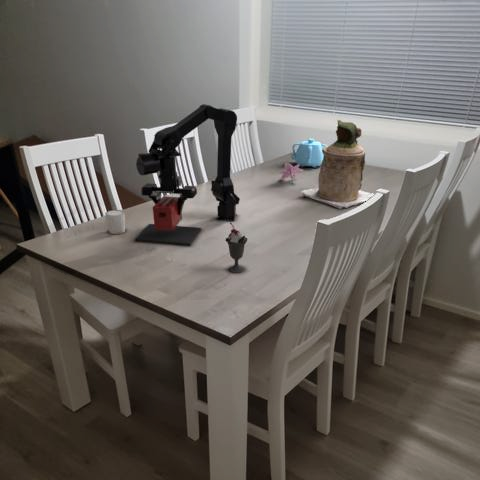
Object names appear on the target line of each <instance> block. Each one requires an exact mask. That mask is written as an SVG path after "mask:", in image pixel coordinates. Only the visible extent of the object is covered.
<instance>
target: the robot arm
mask: <svg viewBox="0 0 480 480" xmlns="http://www.w3.org/2000/svg"><path fill="white" fill-rule="evenodd" d="M208 120H212V121H213V126H214V127H213V128H214V130H215V132H216V135H217V160H216V161H217V162H216V163H217V165H216V167H217V168H216V177H215V179H212V180H211V182H210V184H211V188H210V191H211V193H212V196H214V198H215V200H216V202H218V205H217V208H216V209H217V217H218V218H217V220H219V221H235V220H236V218H237V217H238V216H237V215H238V214H237V205H239V204H240V200H241V198H240V197H239V196H238V195H237V194H236V193H235V187H234V183H233V180H232V178H231V163H232V162H231V161H232V138H233V137H232V136H233V134H234V133H235V132H236V129H237V123H238V115H237V114H236V112H235V111H234V110H231V109H227V108H222V107H221V108H216V107H214V106H212V105H210V104H205V103H203V104H201V105H199V106H198V108H196V109H195V110H194V111H192V112H191V113H189V114H188V115H187V116H185V117H183V119H181V120H180V121H178V122H177V123H175V124H174V125H171V126H167V127H164V128H163V129H160V130H158V131H156V132H155V134H154V137H153V141H152V142H151V145H150V147H149V149H148V152H144V153H143V152H141V153H138V156H137V158H136V163H135V167H136V170H137V172H138V175H139V176H146V175H153V174H157V173H159V174H158V179H159V182H160V186H158V185H157V183H150V182H149V183H145V185H143V186H142V187H141V189H140V191H141V196H143V197H144V196H145V197H148V198H149V199H151V201H152V202H153V203H154V205H155V204H156V203H157V202H158V201H159V200H160V199H161V198H162V194H172V195H174V194H175V195H179V196H178V197H179V198H178V212H179V215H181V212H182V213H183V209H184V205H185V202H186V201H187V200H188V199H194V198H195V197H196V196H197V194H198V189H197V186H195V185H185V186H183V187H181V186H182V176H180V175H179V174H178V171H177V164H176V157H180V156H182V153H181V152H179V151H178V150H177V147H179V146H180V145H181V143H182V141H183V139H184V138H185V136H187V135H188V134H190V133H191V132H192V131H194V130H195V129H197V128H198V127H199V126H201V125H202V124H203V123H204V122H206V121H208ZM180 187H181V188H180Z"/></svg>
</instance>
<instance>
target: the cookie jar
mask: <svg viewBox="0 0 480 480" xmlns="http://www.w3.org/2000/svg"><path fill="white" fill-rule="evenodd" d="M335 134H336V138H337V139H336V141H333V143H331V144H330V145H327V146H326V147H325V146H323V147H322V148H323V149H322V153H323V160H322V164H321V165H320V169H319V173H318V177H317V179H318V180H317V181H318V182H317V183H318V187H315V188H310V189H303V190H301V191H300V193H301V194H302V198H303V197H307V198H310V199H313V200H315V201H318V202H321V203H324V204H327V205H330V206H333V207H335V208H336V209H339V210H342V208H349V207H352V206H357V205H359V204H362V203H365V201H366V202H368V201H367V200H368V199H369V198H370V197H372V196H373V195H374V194H375V193H373V192H368V191H364V190H361V188H362V181H363V178H364V177H363V171H364V170H365V164H366V151H365V150H364V148H363V147H362V146H361V145H359V144H358V140H357V139H358V138H360V137H361V136H362V129H361V128H360V127H357V124H355V123H353V122H352V121H351V122H350V121H349V122H347V121H342V120H340V119H337V126H336V130H335Z"/></svg>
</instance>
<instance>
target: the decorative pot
mask: <svg viewBox="0 0 480 480" xmlns="http://www.w3.org/2000/svg"><path fill="white" fill-rule="evenodd" d="M296 146H298V147H297V148H296V151H295V147H296ZM326 146H328V145H327V144H325V143H321V142H320V141H315V139H314V138H308V139H307V140H303V141H301V142H300V143H299V142H296V143H293V145H292V148H291V149H292V154H291V155H290V158H291V160H295V163H296V165H298V164H300V166H299V167H300V168H305V167H312V168H318V167H319V166H320V167H321V164H322V160H323V153H322V149H323V148H324V147H326Z"/></svg>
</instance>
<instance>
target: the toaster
mask: <svg viewBox="0 0 480 480" xmlns="http://www.w3.org/2000/svg"><path fill="white" fill-rule="evenodd" d="M179 197H180V196H168V195H167V196H161V199H160V200H159V201H158V202H157V203H156V204H155V203H154V205H153V206H152V215H153V224H154V227H155V229H157V230H170V231H173V230H174V228H175V227H176V226H179V224H180V222H181V221H182V220H183V211H182V212H181V215H179V212H178V198H179Z"/></svg>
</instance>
